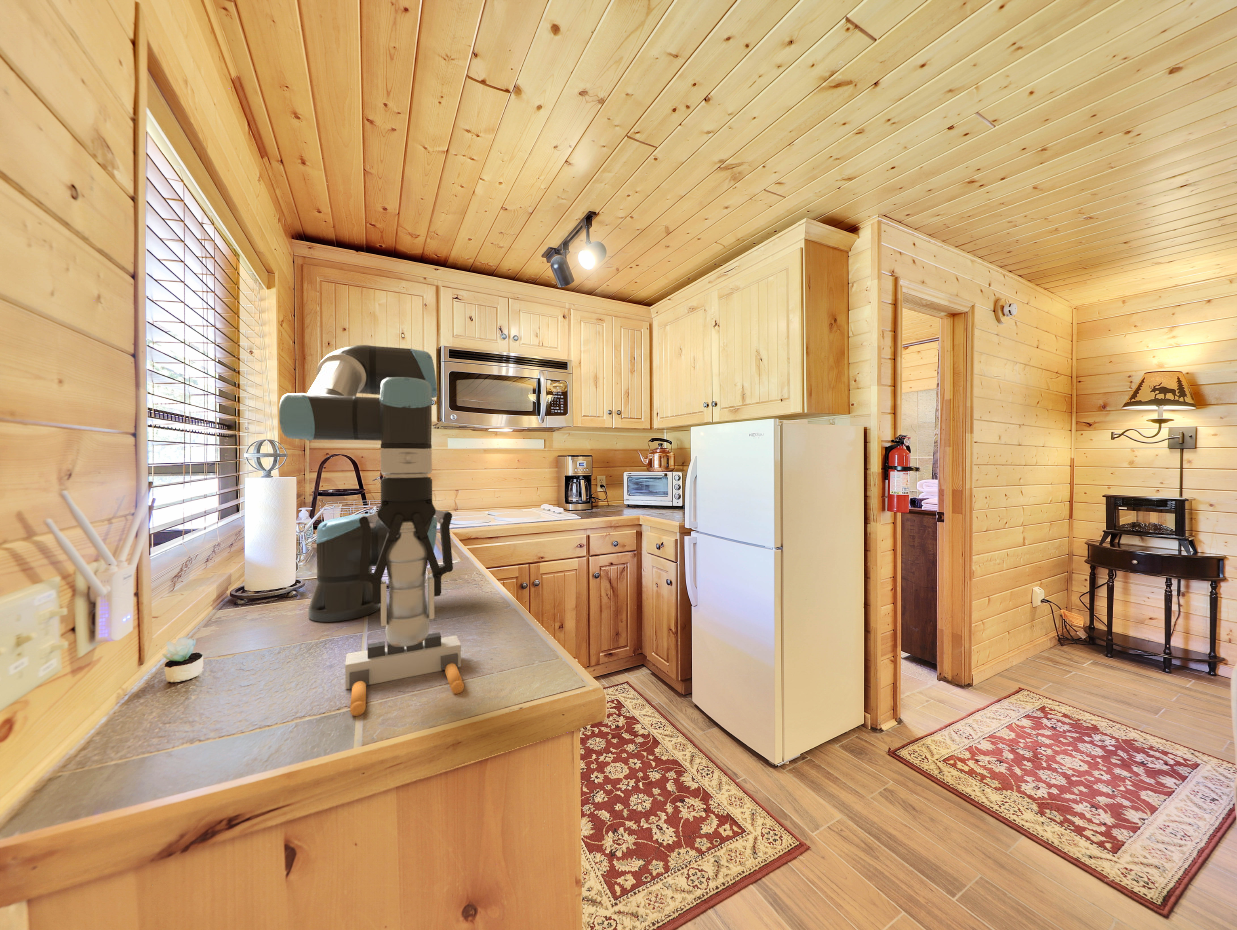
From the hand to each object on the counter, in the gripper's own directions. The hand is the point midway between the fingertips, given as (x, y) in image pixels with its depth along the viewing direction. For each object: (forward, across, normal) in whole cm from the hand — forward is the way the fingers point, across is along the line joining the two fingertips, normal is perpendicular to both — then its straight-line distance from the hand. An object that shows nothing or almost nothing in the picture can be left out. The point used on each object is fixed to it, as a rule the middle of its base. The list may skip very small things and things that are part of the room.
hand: (407, 619), depth 76 cm
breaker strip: (+12, 0, +8) cm, 14 cm away
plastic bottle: (+4, 0, 0) cm, 4 cm away
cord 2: (+12, +7, 0) cm, 14 cm away
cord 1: (+12, -7, 0) cm, 14 cm away
